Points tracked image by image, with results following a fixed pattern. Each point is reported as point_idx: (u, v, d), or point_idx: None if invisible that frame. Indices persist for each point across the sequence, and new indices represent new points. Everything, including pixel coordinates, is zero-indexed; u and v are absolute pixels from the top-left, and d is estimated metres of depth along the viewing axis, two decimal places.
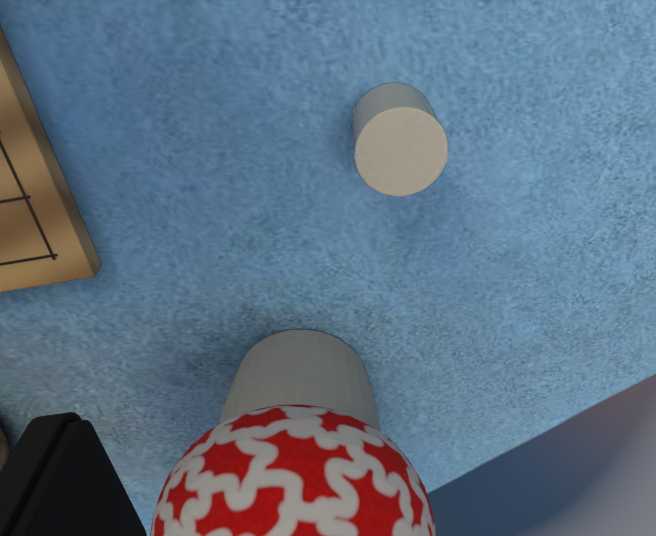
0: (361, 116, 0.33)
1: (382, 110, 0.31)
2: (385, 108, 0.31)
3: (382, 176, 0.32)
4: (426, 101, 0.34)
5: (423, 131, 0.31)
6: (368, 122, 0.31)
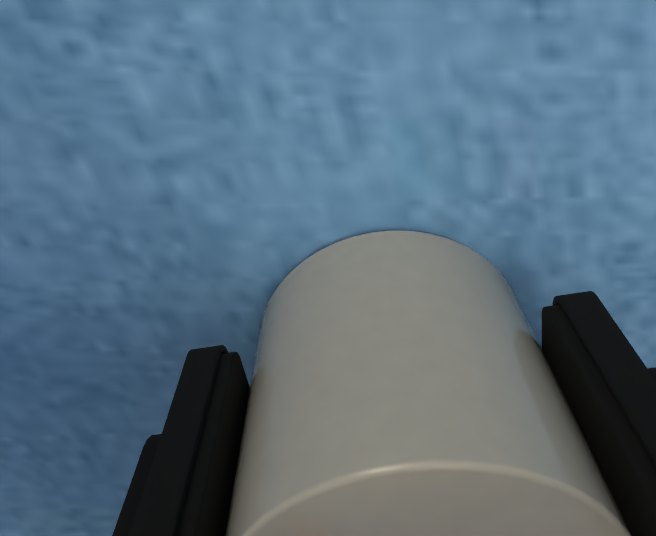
0: (262, 405, 0.08)
1: (338, 459, 0.06)
2: (351, 444, 0.06)
3: None
4: (517, 320, 0.09)
5: None
6: (265, 512, 0.06)
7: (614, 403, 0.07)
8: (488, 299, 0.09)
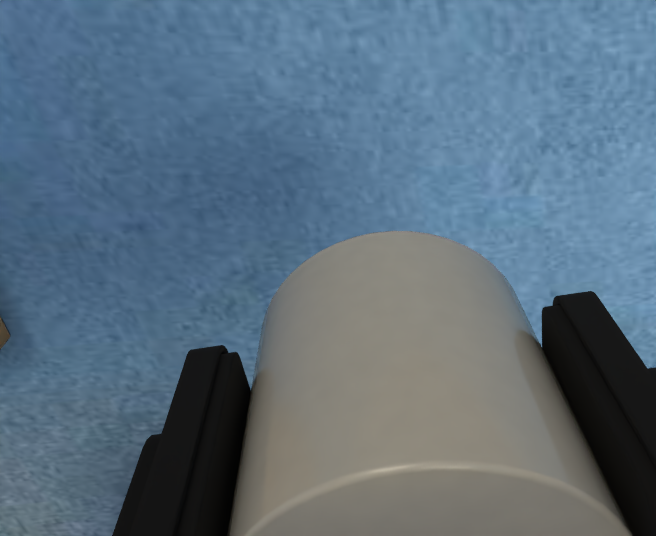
0: (263, 405, 0.08)
1: (340, 460, 0.06)
2: (352, 445, 0.06)
3: None
4: (518, 321, 0.09)
5: None
6: (267, 513, 0.06)
7: (614, 403, 0.07)
8: (489, 300, 0.09)
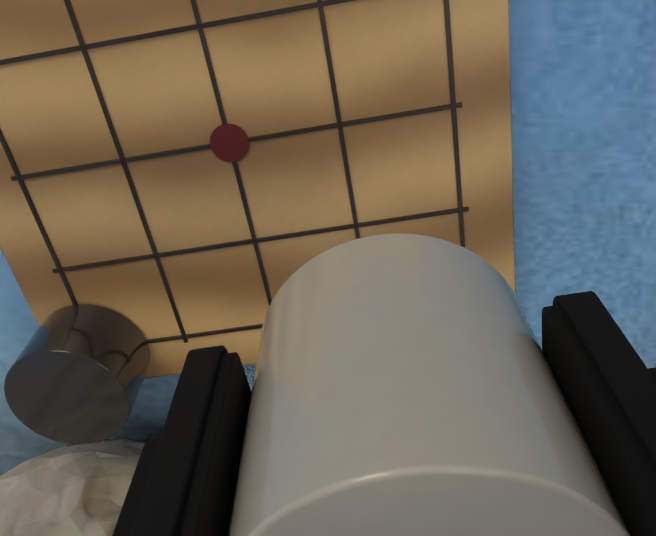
0: (263, 408, 0.08)
1: (340, 464, 0.06)
2: (353, 447, 0.06)
3: None
4: (518, 323, 0.09)
5: None
6: (267, 516, 0.06)
7: (614, 403, 0.07)
8: (489, 302, 0.09)
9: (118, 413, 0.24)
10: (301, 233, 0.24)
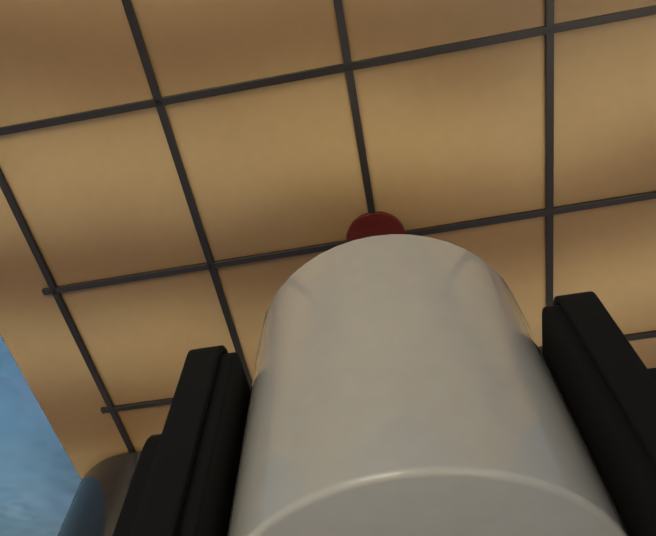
0: (262, 409, 0.08)
1: (339, 465, 0.06)
2: (352, 450, 0.06)
3: None
4: (518, 324, 0.09)
5: None
6: (266, 518, 0.06)
7: (614, 403, 0.07)
8: (488, 303, 0.09)
9: None
10: None
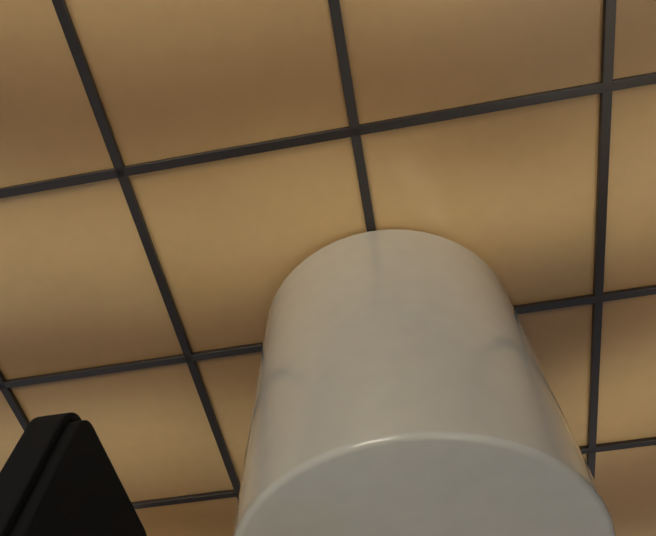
0: (270, 388, 0.09)
1: (340, 431, 0.07)
2: (352, 419, 0.07)
3: None
4: (505, 312, 0.10)
5: (517, 513, 0.07)
6: (274, 480, 0.07)
7: None
8: (478, 292, 0.10)
9: None
10: None
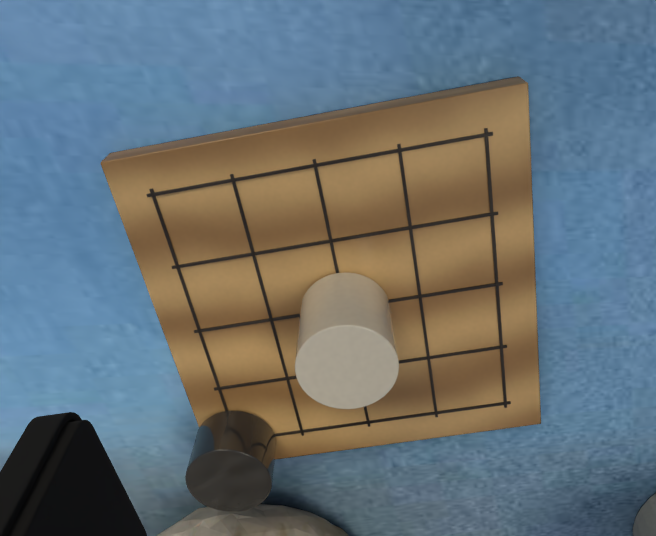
0: (304, 321, 0.29)
1: (324, 326, 0.28)
2: (327, 323, 0.28)
3: (327, 390, 0.29)
4: (378, 299, 0.30)
5: (369, 348, 0.28)
6: (307, 338, 0.28)
7: None
8: (369, 293, 0.30)
9: (263, 490, 0.35)
10: None
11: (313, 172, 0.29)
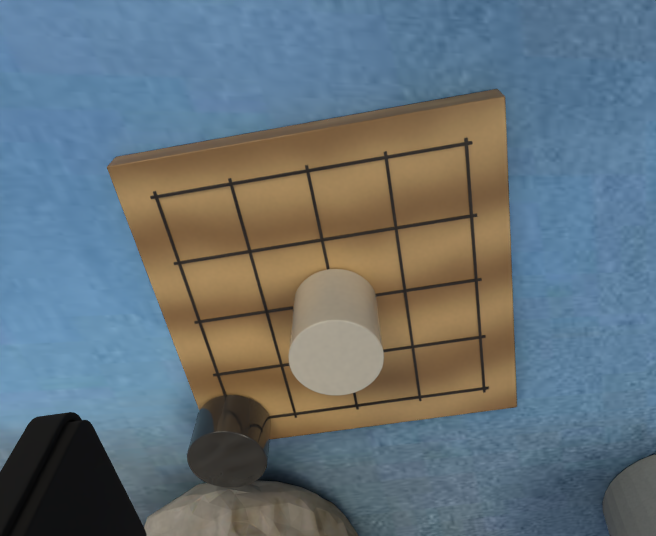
0: (297, 315, 0.32)
1: (315, 320, 0.30)
2: (318, 318, 0.30)
3: (318, 378, 0.32)
4: (365, 294, 0.33)
5: (357, 340, 0.30)
6: (300, 332, 0.30)
7: None
8: (357, 288, 0.33)
9: (259, 468, 0.37)
10: None
11: (306, 177, 0.32)
